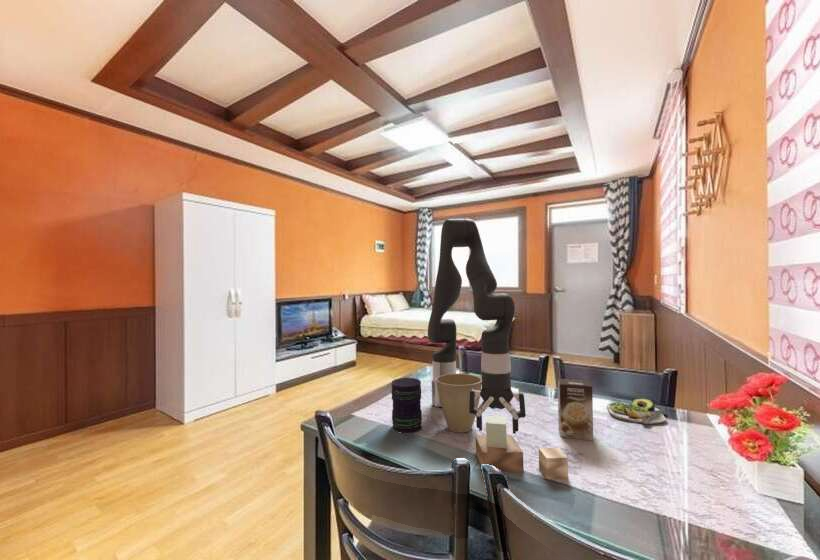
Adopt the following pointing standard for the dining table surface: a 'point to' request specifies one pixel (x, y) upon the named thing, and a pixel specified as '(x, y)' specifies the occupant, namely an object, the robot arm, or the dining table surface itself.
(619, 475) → the dining table surface
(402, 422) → the storage jar
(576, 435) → the coffee box
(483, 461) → the walnut block
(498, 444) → the sage block
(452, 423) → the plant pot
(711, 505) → the dining table surface
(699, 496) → the dining table surface
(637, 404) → the salad plate
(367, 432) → the dining table surface
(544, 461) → the maple block
